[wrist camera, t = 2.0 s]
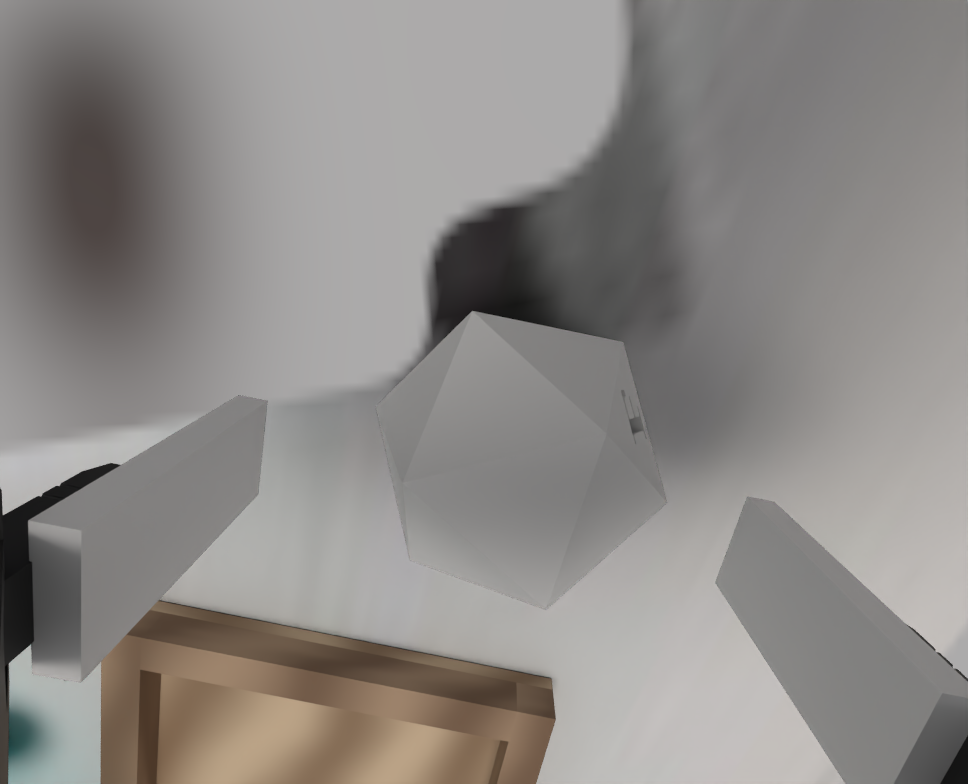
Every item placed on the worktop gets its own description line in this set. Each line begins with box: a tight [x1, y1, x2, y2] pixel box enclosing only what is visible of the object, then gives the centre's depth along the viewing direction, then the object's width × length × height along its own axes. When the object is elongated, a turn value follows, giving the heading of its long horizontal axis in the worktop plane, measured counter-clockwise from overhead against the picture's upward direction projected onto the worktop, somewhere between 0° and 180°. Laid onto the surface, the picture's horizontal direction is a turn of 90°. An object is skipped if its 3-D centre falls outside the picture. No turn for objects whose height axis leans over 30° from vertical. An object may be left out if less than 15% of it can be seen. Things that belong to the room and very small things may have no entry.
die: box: [376, 311, 667, 610], centre depth 17 cm, size 8×9×10 cm
